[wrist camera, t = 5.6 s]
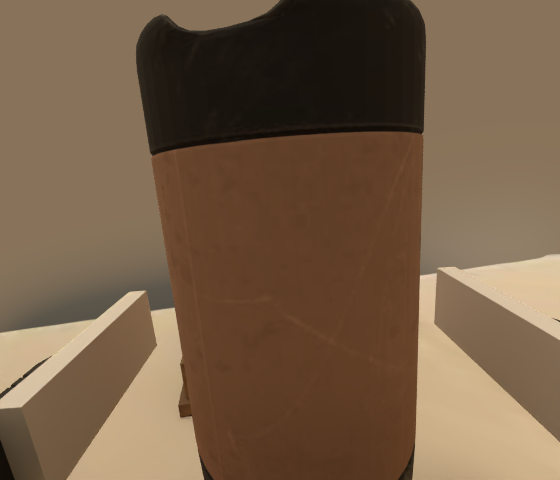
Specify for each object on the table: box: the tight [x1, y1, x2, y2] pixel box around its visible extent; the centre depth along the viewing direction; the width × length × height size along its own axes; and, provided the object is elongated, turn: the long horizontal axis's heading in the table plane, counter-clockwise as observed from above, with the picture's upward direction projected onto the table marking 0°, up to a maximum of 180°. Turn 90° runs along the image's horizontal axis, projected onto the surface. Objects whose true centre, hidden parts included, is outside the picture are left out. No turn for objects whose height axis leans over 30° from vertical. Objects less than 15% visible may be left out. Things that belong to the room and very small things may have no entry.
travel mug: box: [136, 0, 426, 480], centre depth 10 cm, size 8×8×20 cm
